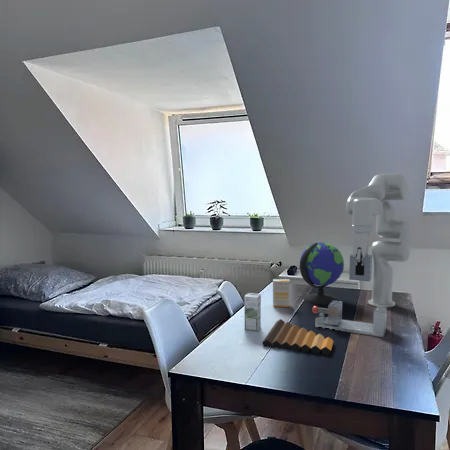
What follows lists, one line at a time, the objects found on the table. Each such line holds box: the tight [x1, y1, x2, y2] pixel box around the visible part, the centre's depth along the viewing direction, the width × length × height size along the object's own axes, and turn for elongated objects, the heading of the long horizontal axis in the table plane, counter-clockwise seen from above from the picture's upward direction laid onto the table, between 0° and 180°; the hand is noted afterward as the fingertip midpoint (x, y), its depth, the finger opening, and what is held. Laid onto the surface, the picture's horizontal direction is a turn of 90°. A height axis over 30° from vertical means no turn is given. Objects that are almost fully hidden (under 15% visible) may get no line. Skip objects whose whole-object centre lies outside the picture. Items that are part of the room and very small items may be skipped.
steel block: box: [348, 252, 372, 282], centre depth 173 cm, size 5×8×10 cm, turn 63°
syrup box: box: [243, 292, 262, 332], centre depth 176 cm, size 6×6×14 cm
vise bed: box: [314, 306, 388, 338], centre depth 176 cm, size 11×27×9 cm, turn 63°
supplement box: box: [272, 278, 291, 308], centre depth 208 cm, size 8×5×13 cm, turn 84°
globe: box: [299, 242, 345, 306], centre depth 217 cm, size 22×22×30 cm
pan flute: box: [261, 318, 334, 356], centre depth 165 cm, size 25×3×25 cm
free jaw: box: [311, 300, 343, 325], centre depth 181 cm, size 9×12×8 cm
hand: (360, 273), depth 173 cm, fingers closed on steel block, 5 cm apart
